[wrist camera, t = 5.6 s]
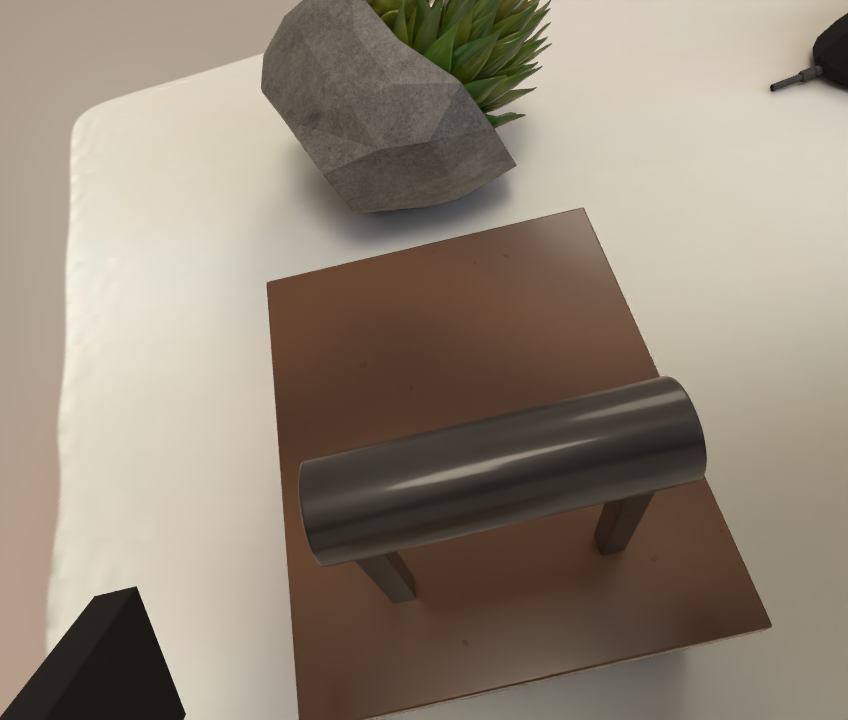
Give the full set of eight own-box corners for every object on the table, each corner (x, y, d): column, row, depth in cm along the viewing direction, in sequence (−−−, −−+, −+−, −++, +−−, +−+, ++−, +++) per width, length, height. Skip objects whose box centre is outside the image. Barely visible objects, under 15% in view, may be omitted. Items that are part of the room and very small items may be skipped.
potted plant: (267, 82, 40) (469, -65, 38) (380, 255, 42) (578, 125, 40) (196, 25, 28) (484, -193, 26) (359, 270, 30) (636, 85, 29)
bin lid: (764, 631, 17) (966, 537, 9) (308, 734, 17) (131, 727, 10) (582, 221, 25) (608, -14, 17) (272, 294, 25) (161, 94, 18)
